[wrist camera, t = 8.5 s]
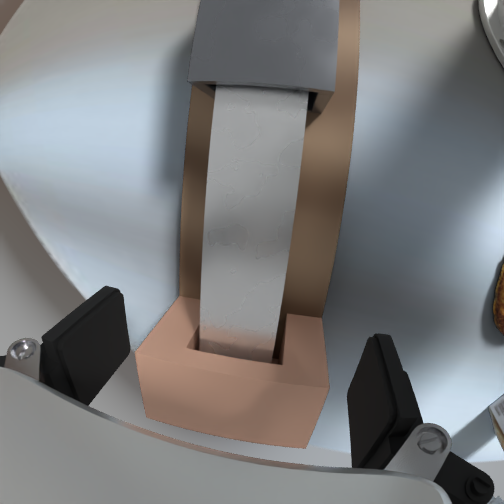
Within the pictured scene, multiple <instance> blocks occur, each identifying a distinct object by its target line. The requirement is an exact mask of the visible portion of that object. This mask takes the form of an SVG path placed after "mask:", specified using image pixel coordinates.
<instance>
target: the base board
mask: <svg viewBox="0 0 504 504" xmlns="http://www.w3.org/2000/svg"><path fill="white" fill-rule="evenodd" d="M359 40H360V0H339V30H338V51H337V67H336V81H335V92H334V94H333V95H332V97H331V99H330V100H329V102H328V104H327V105H326V107H325V109H324V110H323V112H322V114H321V113H314V112H307V113H306V123H305V133H304V142H303V151H302V159H301V168H300V176H299V184H298V192H297V200H296V208H295V215H294V223H293V230H292V237H291V244H290V251H289V258H288V265H287V271H286V278H285V284H284V291H283V297H282V303H281V309H280V315H279V321H278V327H277V333H276V339H275V345H274V350H273V356H272V358H274V359H279V354H280V349H281V344H282V338H283V333H284V328H285V322H286V317H287V314H294V315H302V316H309V317H317V318H322V315H323V310H324V306H325V302H326V297H327V293H328V288H329V283H330V278H331V274H332V269H333V264H334V259H335V253H336V248H337V243H338V237H339V232H340V226H341V220H342V214H343V208H344V201H345V195H346V188H347V181H348V173H349V166H350V158H351V150H352V141H353V131H354V121H355V110H356V98H357V84H358V66H359ZM214 101H215V100H214V99H213V98H212V97H210V96H209V95H207V94H206V93H204V92H203V91H201V90H200V89H198V88H197V87H195V86H194V85H192V91H191V99H190V108H189V117H188V127H187V137H186V148H185V161H184V174H183V190H182V208H181V232H180V278H179V296H183V297H188V298H193V299H199V300H200V298H201V270H202V249H203V230H204V214H205V199H206V186H207V173H208V161H209V150H210V139H211V129H212V119H213V110H214Z"/></svg>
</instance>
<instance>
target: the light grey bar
mask: <svg viewBox="0 0 504 504" xmlns="http://www.w3.org/2000/svg"><path fill="white" fill-rule="evenodd" d="M308 93H309V91H304V90H296V89H287V88H277V87H265V86H250V85H225V84H216V93H215V101H214V110H213V119H212V129H211V139H210V150H209V161H208V173H207V186H206V199H205V214H204V230H203V249H202V270H201V298H200V349H199V351H202V352H207V353H212V354H217V355H222V356H228V357H233V358H239V359H245V360H251V361H257V362H263V363H270V364H271V362H272V356H273V350H274V345H275V339H276V333H277V327H278V321H279V315H280V309H281V303H282V297H283V291H284V284H285V278H286V271H287V265H288V258H289V251H290V244H291V237H292V230H293V223H294V215H295V208H296V200H297V192H298V184H299V176H300V168H301V159H302V151H303V142H304V133H305V123H306V113H307V103H308Z"/></svg>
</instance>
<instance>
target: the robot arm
mask: <svg viewBox="0 0 504 504" xmlns="http://www.w3.org/2000/svg"><path fill="white" fill-rule="evenodd" d="M479 12H480V18H481V21H482V24H483V27H484V30H485V33H486V35H487V37H488V40H489V42H490V44H491V46H492V48H493V50H494V52H495V54H496V56H497V58H498V59H499V61H500V62H501V64H502V66H503V67H504V0H479ZM42 341H43V343H42V344H41V345H40V344H39V343H38V341H37V340H35V339H32V338H23V339H19V340H17V341H15V342H13V343H12V344H11V345H10V346H9V348H8V350H7V355H5V356H0V504H504V501H503V500H502V499H501V498H500V496H497V497H496V498H495V497H494V496H493V494H494V484H493V481H492V479H491V478H490V476H489V475H487V474H486V473H485V472H483V471H481V470H480V469H478V468H476V467H475V466H473V465H471V464H470V463H468V462H467V461H465V460H463V459H462V458H460V457H458V456H457V455H455V454H454V453H452V452H451V451H450V449H451V446H452V443H451V438H450V435H449V434H448V432H447V431H446V430H445V429H444V428H442V427H441V426H439V425H436V424H432V423H423V420H422V417H421V413H420V410H419V407H418V404H417V401H416V398H415V394H414V391H413V388H412V386H411V383H410V380H409V377H408V374H407V372H405V371H403V368H402V365H401V362H400V359H399V357H398V354H397V351H396V348H395V346H394V343H393V340H392V338H391V336H390V335H386V334H374V336H373V337H369V338H368V340H367V343H366V346H365V348H364V351H363V354H362V356H361V359H360V362H359V364H358V367H357V370H356V372H355V375H354V377H353V380H352V382H351V384H350V387H349V389H348V393H347V403H348V415H349V427H350V441H351V457H352V468H342V467H326V466H314V465H304V464H295V463H286V462H279V461H271V460H265V459H258V458H253V457H247V456H242V455H237V454H232V453H228V452H223V451H218V450H214V449H210V448H206V447H202V446H198V445H194V444H190V443H187V442H184V441H180V440H176V439H173V438H170V437H167V436H164V435H161V434H158V433H155V432H152V431H149V430H146V429H143V428H140V427H138V426H135V425H132V424H130V423H127V422H124V421H122V420H119V419H117V418H115V417H112V416H110V415H107V414H105V413H103V412H100V411H98V410H96V409H94V408H91V407H89V404H90V403H91V402H92V400H93V399H94V398H95V397H96V395H97V394H98V393H99V391H100V390H101V389H102V387H103V386H104V385H105V384H106V383H107V381H108V380H109V379H110V378H111V376H112V375H113V374H114V372H115V371H116V370H117V369H118V367H119V366H120V365H121V364H122V362H123V361H124V360H125V359H126V357H127V356H128V355H129V353H130V342H129V335H128V329H127V321H126V314H125V306H124V297H123V294H122V293H120V290H119V289H117V288H113V287H109V286H105V287H103V288H102V289H100V290H99V291H98V292H96V293H95V294H94V295H93V296H91V297H90V298H89V299H87V300H86V301H85V302H84V303H82V304H81V305H80V306H79V307H77V308H76V309H75V310H74V311H72V312H71V313H70V314H69V315H67V316H66V317H65V318H64V319H62V320H61V321H60V322H59V323H58V324H56V325H55V326H54V327H53V328H52V329H50V330H49V331H48V332H47V333H45V334H44V335H43V336H42Z"/></svg>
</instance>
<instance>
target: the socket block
mask: <svg viewBox="0 0 504 504" xmlns="http://www.w3.org/2000/svg"><path fill="white" fill-rule="evenodd" d="M199 349H200V300H199V299H193V298H188V297H183V296H179V297H178V298H177V300H176V301H175V302H174V303H173V305H172V306H171V307H170V308H169V310H168V311H167V312H166V313H165V315H164V316H163V317H162V318H161V320H160V321H159V322H158V323H157V325H156V326H155V327H154V328H153V330H152V331H151V332H150V333H149V335H148V336H147V337H146V339H145V340H144V341H143V342H142V344H141V345H140V346H139V348H138V349H137V350H136V351H135V358H136V364H137V371H138V376H139V382H140V388H141V393H142V398H143V404H144V409H145V413H146V417H147V418H150V419H153V420H156V421H159V422H163V423H166V424H170V425H173V426H177V427H181V428H185V429H189V430H193V431H196V432H201V433H205V434H209V435H214V436H219V437H224V438H229V439H234V440H240V441H246V442H252V443H259V444H267V445H274V446H283V447H292V448H303V449H304V448H306V447H307V444H308V442H309V440H310V437H311V435H312V433H313V430H314V428H315V425H316V423H317V420H318V418H319V415H320V413H321V410H322V407H323V405H324V402H325V400H326V397H327V394H328V391H329V389H330V386H329V376H328V366H327V357H326V349H325V340H324V332H323V324H322V318H317V317H309V316H302V315H294V314H287V317H286V322H285V328H284V333H283V338H282V344H281V349H280V354H279V359H274V358H272V362H271V364H270V363H263V362H257V361H251V360H245V359H239V358H233V357H228V356H222V355H217V354H212V353H207V352H202V351H199Z"/></svg>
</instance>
